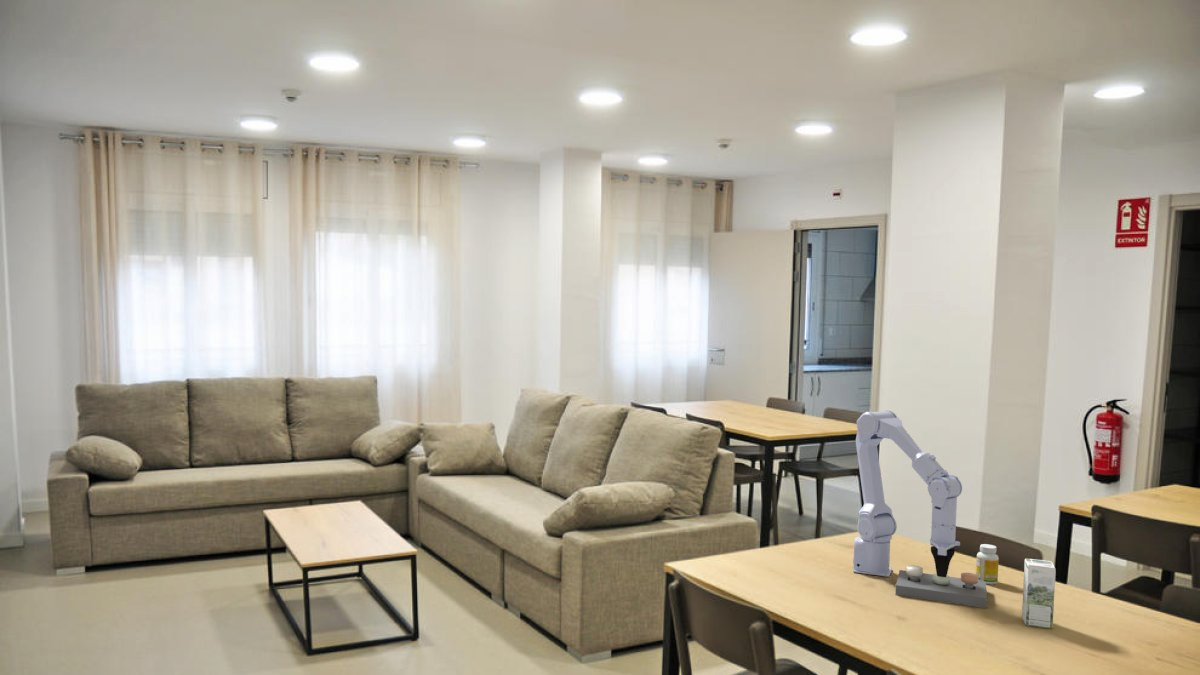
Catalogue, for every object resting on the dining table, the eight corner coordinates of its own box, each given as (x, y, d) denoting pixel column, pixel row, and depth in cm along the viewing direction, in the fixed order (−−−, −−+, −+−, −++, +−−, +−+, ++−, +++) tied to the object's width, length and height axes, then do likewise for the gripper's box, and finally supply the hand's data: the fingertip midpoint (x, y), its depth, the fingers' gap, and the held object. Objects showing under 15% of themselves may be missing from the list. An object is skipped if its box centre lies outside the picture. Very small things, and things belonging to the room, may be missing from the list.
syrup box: (1048, 621, 199) (1051, 559, 199) (1053, 630, 194) (1055, 566, 193) (1021, 617, 201) (1024, 556, 201) (1025, 626, 195) (1028, 563, 195)
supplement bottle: (971, 580, 228) (973, 545, 228) (981, 577, 232) (983, 542, 231) (991, 586, 224) (993, 550, 224) (1001, 582, 228) (1002, 546, 227)
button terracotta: (960, 590, 214) (960, 576, 214) (960, 585, 217) (960, 571, 217) (977, 592, 212) (978, 578, 212) (977, 588, 216) (978, 574, 216)
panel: (895, 594, 215) (895, 585, 215) (899, 579, 228) (899, 569, 228) (986, 608, 207) (987, 598, 207) (985, 591, 220) (985, 581, 220)
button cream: (905, 582, 219) (905, 568, 219) (906, 578, 223) (906, 564, 222) (922, 584, 217) (922, 570, 217) (922, 580, 221) (923, 566, 221)
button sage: (932, 591, 216) (932, 577, 216) (932, 586, 220) (933, 572, 220) (949, 593, 215) (949, 579, 215) (949, 588, 219) (950, 574, 218)
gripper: (960, 531, 209) (958, 586, 209) (960, 519, 222) (958, 570, 222) (929, 528, 211) (927, 582, 212) (931, 515, 225) (929, 566, 225)
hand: (941, 576), depth 217 cm, fingers closed, pressing on button sage
